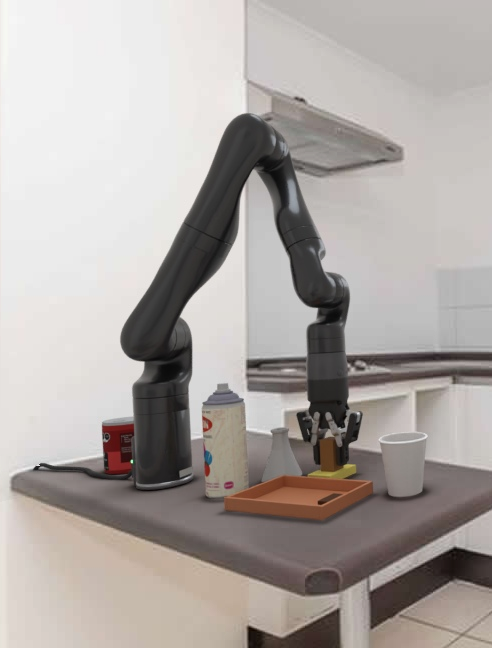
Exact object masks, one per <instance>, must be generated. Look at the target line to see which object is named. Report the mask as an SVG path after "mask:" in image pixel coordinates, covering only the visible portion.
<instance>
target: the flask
mask: <svg viewBox="0 0 492 648" xmlns="http://www.w3.org/2000/svg"><path fill="white" fill-rule="evenodd" d="M289 431H290V427H285V426H282V427H275V428H271V429H270V433H271V434H272V443H271V450H270V453H269V455H268V459H267V463H266V466H265V469H264V470H263V474H262V477H261V480H260V482H261V483H263V482H266V481H269V480H271V479H274V478H277V477H279V476H282V475H292V476H303V471H302V469H301V467H300V465H299V463H298V461H297V459H296V457H295V455H294V452H293V449H292V448H291V447H292V446H291V444H290V439H289Z"/></svg>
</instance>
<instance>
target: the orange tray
mask: <svg viewBox="0 0 492 648" xmlns="http://www.w3.org/2000/svg"><path fill="white" fill-rule="evenodd" d="M333 493H336V494H343V495H341V496H339V497H337V498H335V499H333V500H331V501H329V502H327V503H325V504H323V505H318V501H319V500H321V499H323V498H325V497H327V496H329V495H331V494H333ZM373 493H374V480H363V479H361V480H360V479H350V478H349V479H347V478H343V479H335V478H321V477H308V475H307V476H304V475H301V476H292V475H282V476H279V477H277V478H274V479H271V480H269V481H266V482H261V483H258V484H255V485H253V486H251V487H250V486H249V488H248V489H245V490H243V491H240V492H237V493H235V494H232V495H230V496H227V497H224V498H223V504H224V505H223V507H224V511H229V512H239V513H248V514H257V515H258V514H259V515H260V514H261V515H268V516H277V517H289V518H300V519H309V520H317V521H323V520H325V519H327V518H329V517H331V516H333V515H335V514H337V513H338V512H340V511H342V510H344V509H346V508H348V507H350V506H352V505H353V504H355V503H357V502H359V501H361V500H363V499H365V498H366V497H368V496H370V495H372V494H373Z"/></svg>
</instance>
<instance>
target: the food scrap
mask: <svg viewBox="0 0 492 648" xmlns="http://www.w3.org/2000/svg"><path fill="white" fill-rule="evenodd" d="M341 495H343V494H336V493H333V494H331V495H329V496H327V497H325V498H323V499H321V500H319V501H318V505H323V504H325V503H327V502H329V501H331V500H333V499H335V498H337V497H339V496H341Z"/></svg>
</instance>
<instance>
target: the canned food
mask: <svg viewBox="0 0 492 648" xmlns="http://www.w3.org/2000/svg"><path fill="white" fill-rule="evenodd" d="M133 436H134V418H133V416H124V417H123V416H122V417H116V418H110V419H106V420H103V421H101V438H102V455H103V456H102V457H103V458H102V459H103V470H104V472H105V474H108V475H126V474H128V472H129V471H130V470H131V461H132V442H131V439H132V437H133Z"/></svg>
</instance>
